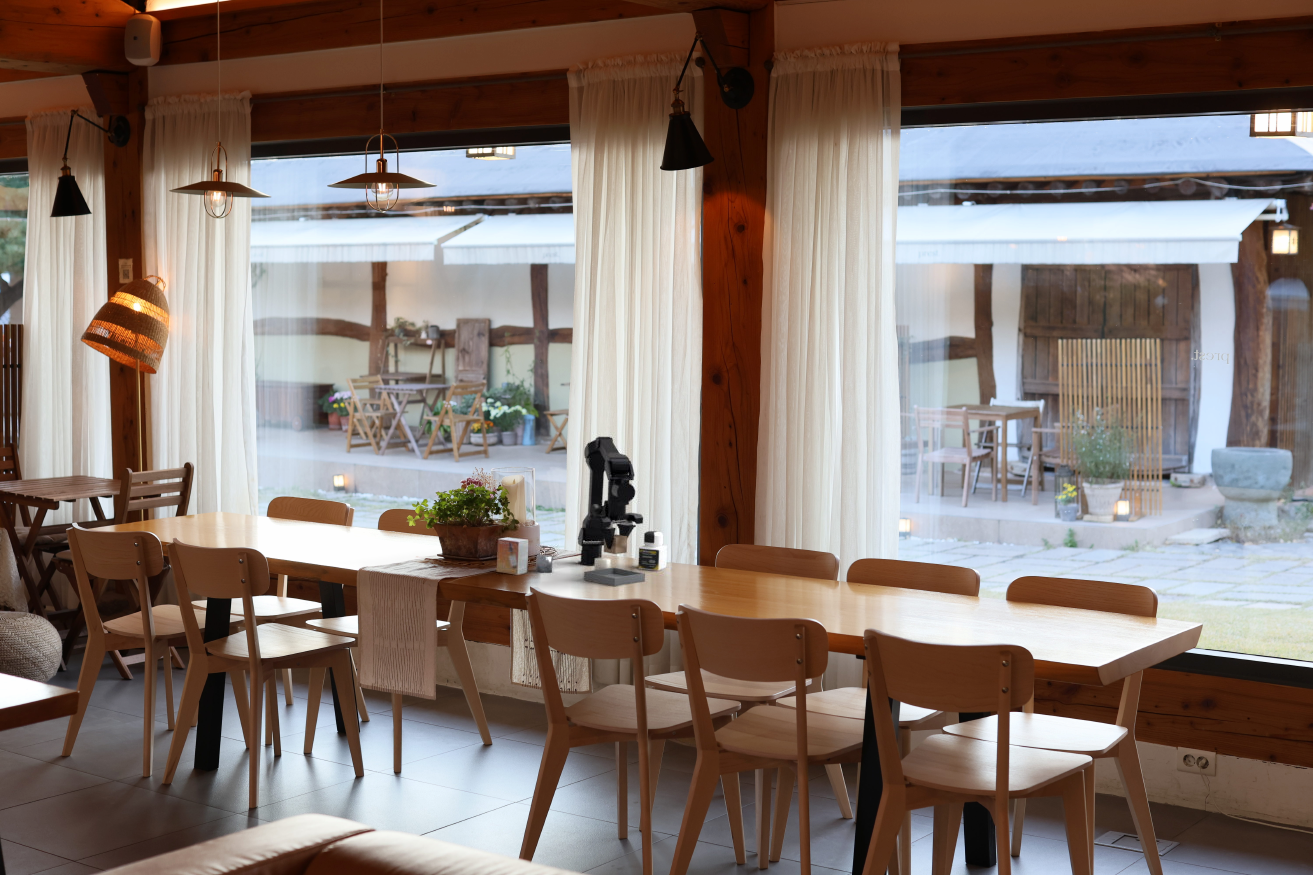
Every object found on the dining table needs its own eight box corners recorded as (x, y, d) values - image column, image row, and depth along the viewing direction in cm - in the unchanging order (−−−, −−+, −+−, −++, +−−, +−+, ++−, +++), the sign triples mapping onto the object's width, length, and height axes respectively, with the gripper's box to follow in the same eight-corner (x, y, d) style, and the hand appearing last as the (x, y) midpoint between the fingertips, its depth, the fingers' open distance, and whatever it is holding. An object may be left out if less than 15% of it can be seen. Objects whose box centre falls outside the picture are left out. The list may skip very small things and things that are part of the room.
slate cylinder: (544, 569, 410) (545, 554, 409) (555, 571, 406) (555, 556, 406) (532, 571, 406) (533, 555, 405) (543, 573, 402) (544, 557, 402)
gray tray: (613, 574, 404) (614, 567, 404) (644, 581, 396) (644, 573, 395) (583, 579, 395) (584, 571, 394) (614, 586, 386) (615, 578, 386)
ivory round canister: (602, 572, 408) (602, 557, 407) (613, 574, 404) (614, 559, 404) (591, 574, 404) (591, 558, 404) (602, 576, 401) (602, 560, 400)
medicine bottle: (637, 568, 416) (639, 532, 415) (646, 565, 423) (647, 529, 422) (658, 571, 414) (659, 534, 413) (666, 567, 420) (667, 531, 419)
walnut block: (614, 550, 398) (615, 534, 398) (626, 552, 395) (627, 536, 394) (603, 551, 394) (604, 535, 394) (615, 554, 391) (615, 537, 391)
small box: (496, 572, 402) (497, 538, 401) (506, 569, 407) (507, 536, 406) (517, 575, 398) (518, 541, 398) (527, 572, 403) (528, 539, 402)
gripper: (619, 492, 406) (617, 541, 407) (576, 496, 392) (575, 547, 393) (645, 496, 398) (643, 546, 399) (602, 500, 384) (601, 552, 385)
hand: (615, 548), depth 394 cm, fingers closed on walnut block, 5 cm apart
